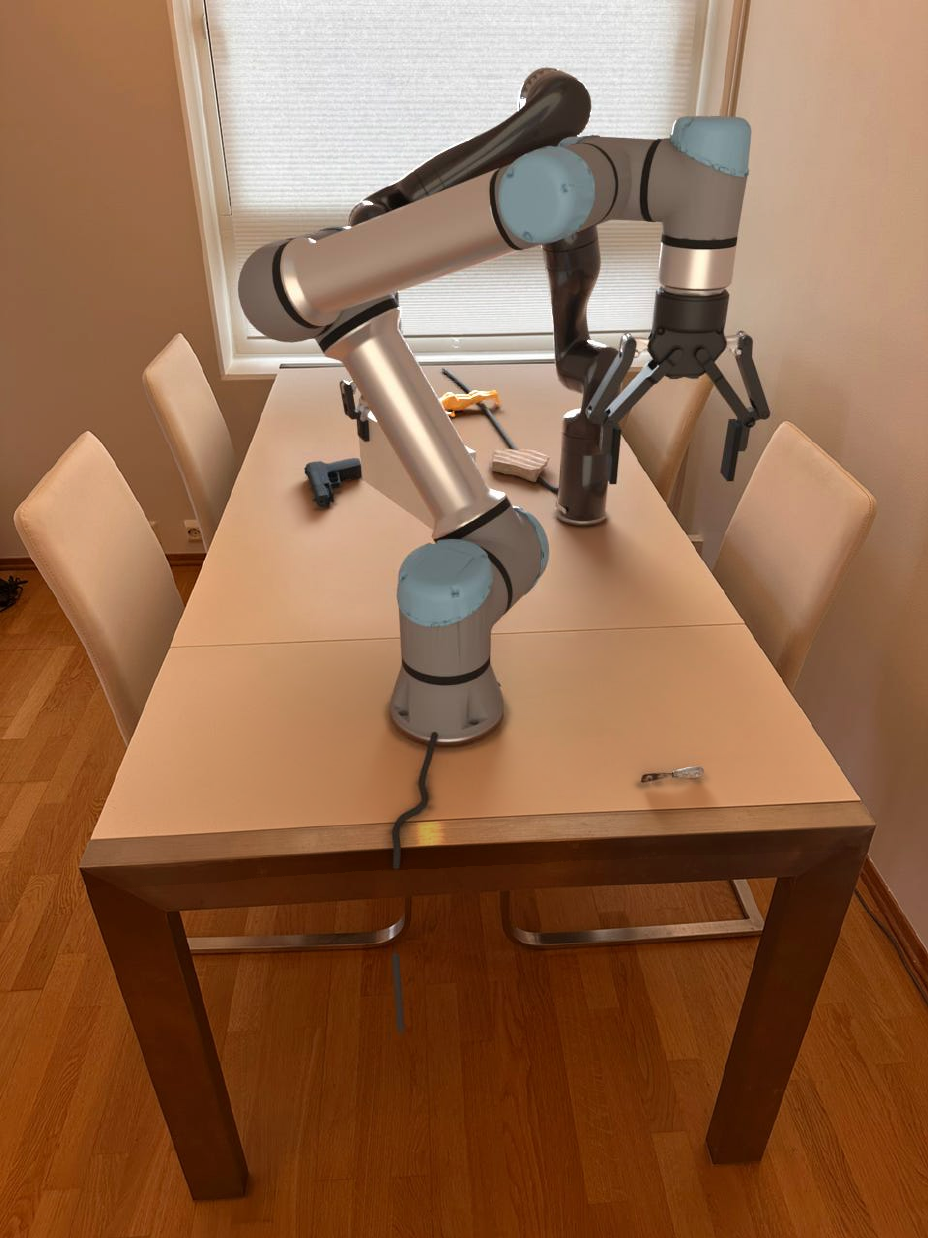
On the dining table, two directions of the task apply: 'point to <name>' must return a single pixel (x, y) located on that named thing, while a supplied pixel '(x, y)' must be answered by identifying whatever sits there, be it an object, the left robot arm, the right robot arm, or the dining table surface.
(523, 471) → the stone
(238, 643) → the dining table surface
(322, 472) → the handgun
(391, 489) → the box
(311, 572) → the dining table surface
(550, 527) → the dining table surface
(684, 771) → the putty knife
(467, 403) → the human figure
